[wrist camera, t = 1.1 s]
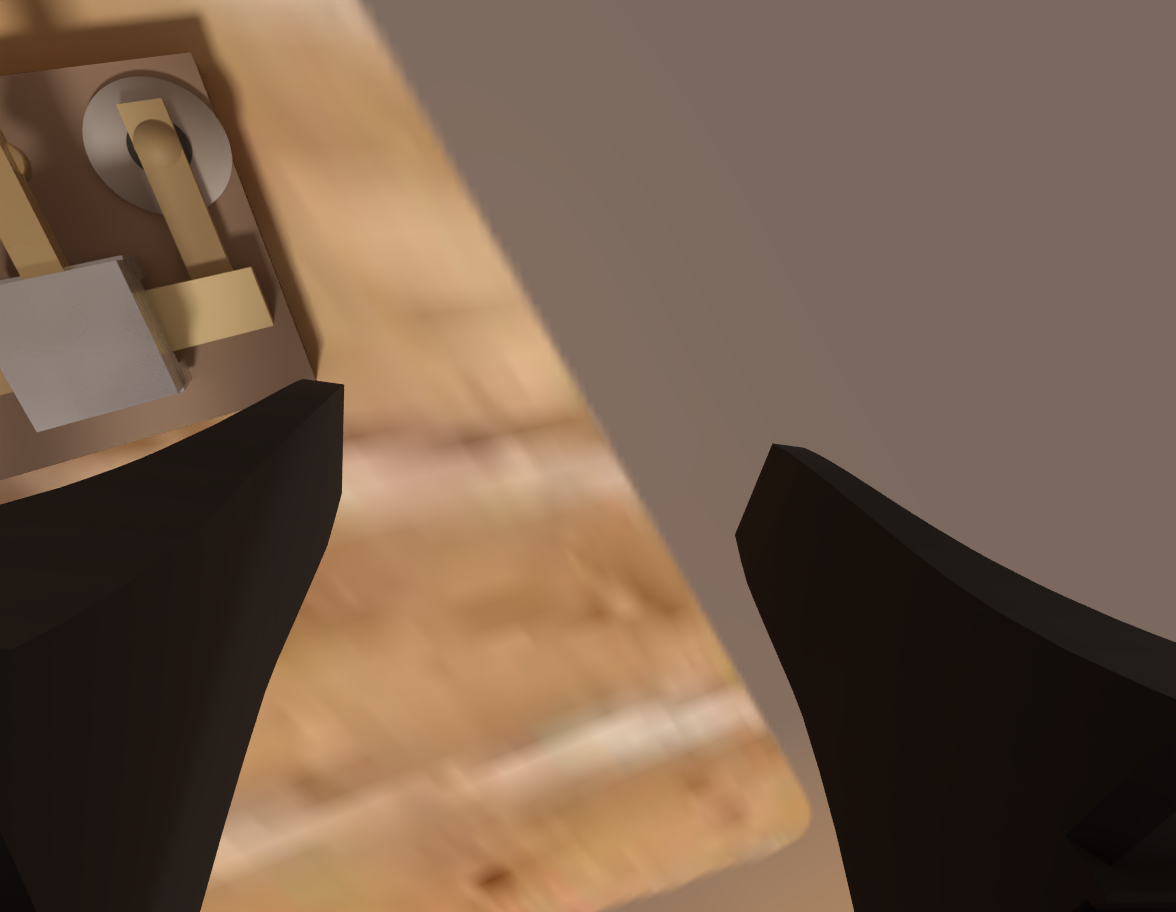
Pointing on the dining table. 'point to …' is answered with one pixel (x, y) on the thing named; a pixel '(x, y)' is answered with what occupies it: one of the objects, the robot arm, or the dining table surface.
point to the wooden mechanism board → (150, 241)
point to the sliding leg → (74, 320)
